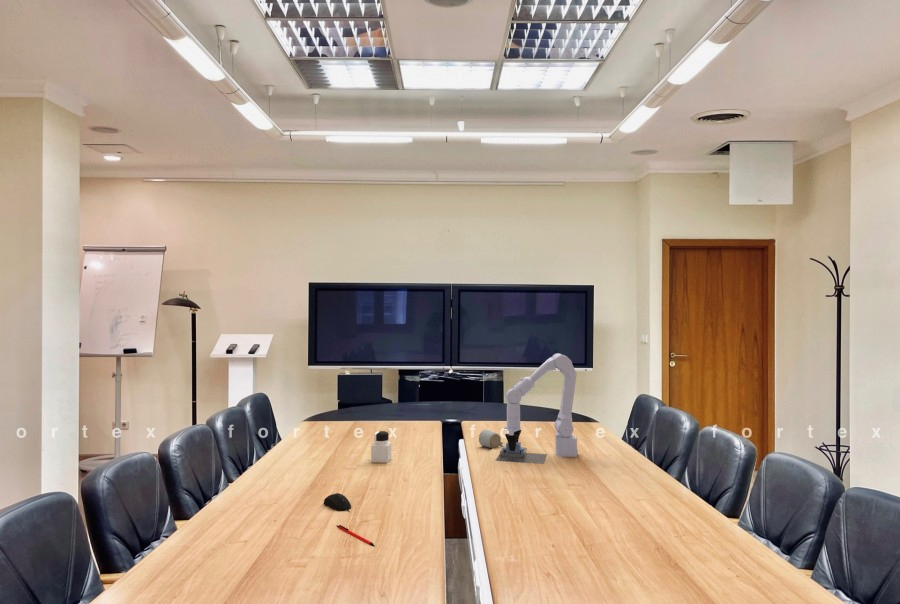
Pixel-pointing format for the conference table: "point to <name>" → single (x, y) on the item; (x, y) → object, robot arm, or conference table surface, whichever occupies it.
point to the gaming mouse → (337, 502)
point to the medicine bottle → (381, 447)
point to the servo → (517, 449)
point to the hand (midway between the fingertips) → (513, 448)
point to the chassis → (521, 457)
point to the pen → (355, 535)
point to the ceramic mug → (489, 439)
